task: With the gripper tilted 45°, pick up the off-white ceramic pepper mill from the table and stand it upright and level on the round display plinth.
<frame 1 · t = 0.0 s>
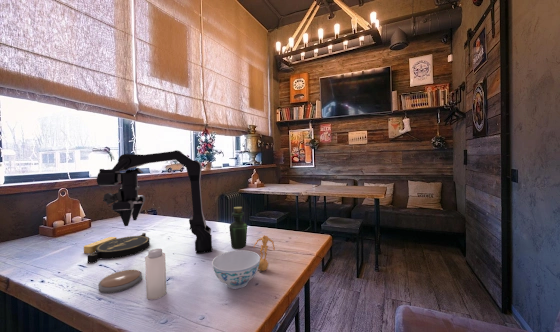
hand: (130, 223, 94), 15 cm above the table, tool pointing down, fingers open, 9 cm apart
chinaware: (237, 283, 73), on the table
display plinth: (121, 283, 75), on the table
decorative sign: (119, 250, 105), on the table
potion bottle: (238, 247, 105), on the table
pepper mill: (156, 294, 68), on the table
figurine: (263, 269, 83), on the table
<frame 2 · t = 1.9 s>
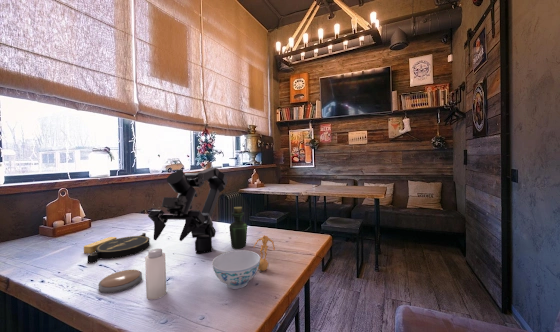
hand: (167, 240, 76), 13 cm above the table, tool tilted 45°, fingers open, 9 cm apart
nothing on the table moved.
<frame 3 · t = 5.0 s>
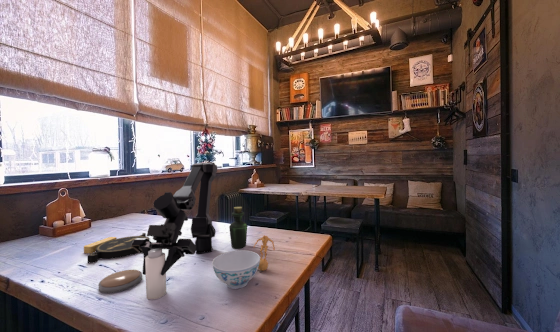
hand: (152, 274, 66), 7 cm above the table, tool tilted 45°, fingers closed on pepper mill, 5 cm apart
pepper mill: (156, 294, 68), on the table, touching gripper
everything else where it was.
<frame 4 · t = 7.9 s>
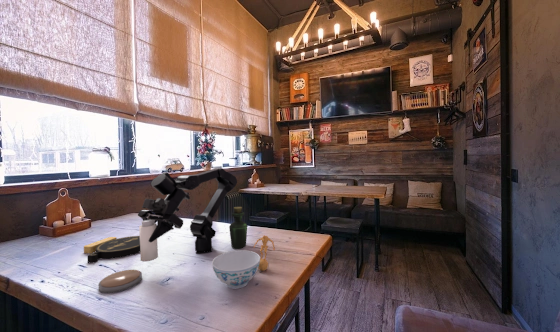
hand: (144, 240, 78), 13 cm above the table, tool tilted 45°, fingers closed on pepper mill, 5 cm apart
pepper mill: (149, 258, 79), point 6 cm above the table, touching gripper
everything else where it was.
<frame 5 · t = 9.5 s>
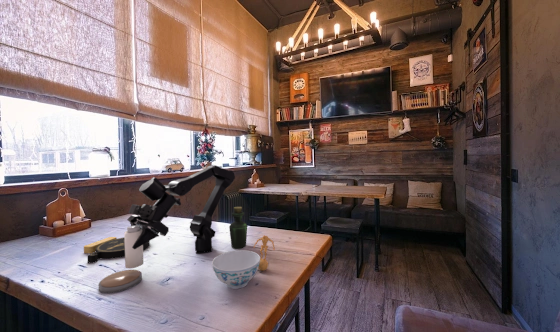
hand: (129, 246, 77), 11 cm above the table, tool tilted 45°, fingers closed on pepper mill, 5 cm apart
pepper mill: (134, 264, 78), point 4 cm above the table, touching gripper
everything else where it was.
when the fingers open (9 cm above the table, at t = 10.7 s): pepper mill stays where it is, resting on display plinth.
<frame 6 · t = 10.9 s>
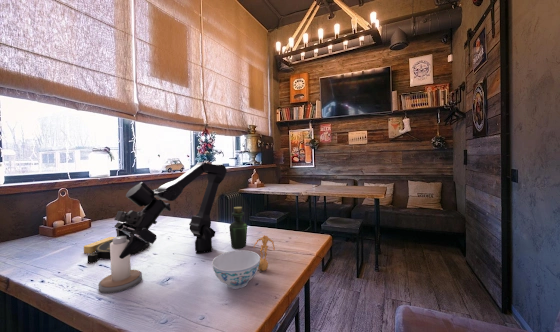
hand: (115, 255, 73), 10 cm above the table, tool tilted 45°, fingers open, 7 cm apart
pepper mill: (121, 277, 75), point 2 cm above the table, touching display plinth
everything else where it was.
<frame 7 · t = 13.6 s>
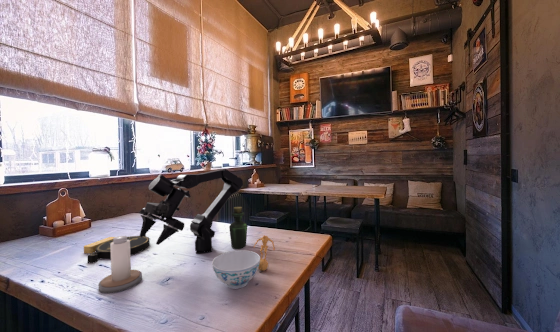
hand: (148, 240, 84), 11 cm above the table, tool tilted 35°, fingers open, 9 cm apart
nothing on the table moved.
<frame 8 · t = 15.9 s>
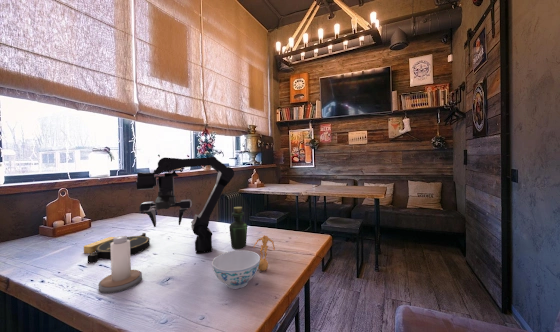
hand: (167, 225, 95), 13 cm above the table, tool pointing down, fingers open, 9 cm apart
nothing on the table moved.
at the end: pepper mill 0.1 cm from the display plinth (horizontally); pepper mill point 1.9 cm above the table; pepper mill tilted 0° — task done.
